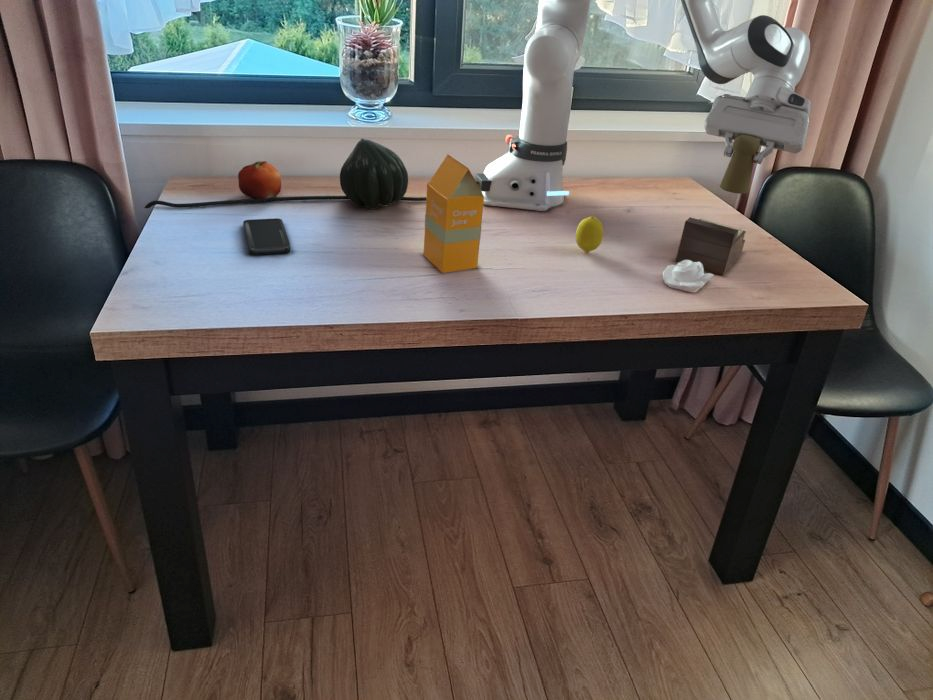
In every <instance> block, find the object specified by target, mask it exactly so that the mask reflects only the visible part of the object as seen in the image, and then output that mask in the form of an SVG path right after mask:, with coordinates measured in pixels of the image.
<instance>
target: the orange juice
mask: <svg viewBox="0 0 933 700" xmlns="http://www.w3.org/2000/svg"><path fill="white" fill-rule="evenodd" d="M446 154H447V155H446V156H445V158H444V159H443V161H441V164H440V165H439V167H438V168H437V169H436V171H435V173H434V174H433V176H432V177H431V178H430V180H429V181H428V183H427V184H426V197H427V199H426V201H425V202H426V203H425V215H424V236H423V237H424V238H423V239H424V240H423V256H424V257H425V258H426V259H427V260H428V261H429V262H430V263H431V264H433V266H435V268H437V269H438V270H439V271H440V272H441V273H442V274H445V273H446V274H447V273H453V272H459V271H466V270H472V269H478V263H479V253H480V245H481V244H480V242H481V236H482V221H483V212H484V205H483V202H484V197H485V196H484V195H483V193H482V191H481V189H480V188H479V186H478V184H477V183H476V181H475V178H474V177H475V176H473V174H472V172H471V170H470V169H469V167H467V166H466V165H465V164H463V163H461V162H460V161H458V160H457V159H455V158H454V157H452V156H451V155H450V154H448V153H446Z"/></svg>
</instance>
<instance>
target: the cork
mask: <svg viewBox="0 0 933 700" xmlns="http://www.w3.org/2000/svg"><path fill="white" fill-rule="evenodd" d="M732 143H733V144H732V146H733V149H734V152H733V154H732V156H731V157H730V160H729V162H728V165H727V167H726V169H725V172H724V175H723V177H722V179H721V182H720V185H719V189H721V190H722V191H726V192H729V193H733V194H739V195H742V194H743V195H744V194H748V193H749V192H750V186H751V179H752V175H753V167H754V157H755V156H756V153H757V152H759V150H760V147H761V146H760V141H759V140H758V139H757V138H756V137H753V136H749V135H740V136H738V137H736V138H735V140H733V142H732Z"/></svg>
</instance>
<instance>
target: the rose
mask: <svg viewBox="0 0 933 700" xmlns="http://www.w3.org/2000/svg"><path fill="white" fill-rule="evenodd" d="M713 278H714V273H712V272H706V273H705V270H704V268H703V265H702V263H701V262H692V261H691V260H683V261H681V262H679V263H678V262H677V263H676V264H675V265H674V264H669V265H667V266H666V268H665V269H663V271H662V279H663V281H664V284H665V285H667V286H668V288H671V289H677V290H681V291H684V292H687V293H697V291H699V290H701V288H703V286H705V285H706V283H708V282H709V281H710V280H712V279H713Z"/></svg>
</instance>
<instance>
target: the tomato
mask: <svg viewBox="0 0 933 700" xmlns="http://www.w3.org/2000/svg"><path fill="white" fill-rule="evenodd" d="M237 178H238V188H239V191H240V192H241V193H242V194H243V195H244V196H246V197H249V198H251V199H267V198H274V197H278V195H279V194H281V190H282V178H281V174H280V172H279V170H278V169H277V168H276V167H275V166H274V165H273V164H271V163H268V161H266V160H264V161H262V160H261V161H259V160H258V161H256V162H254V163H252V164H248V165H245V166H243V167H242V168H241V169H240V170H239V171H238V173H237Z"/></svg>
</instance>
